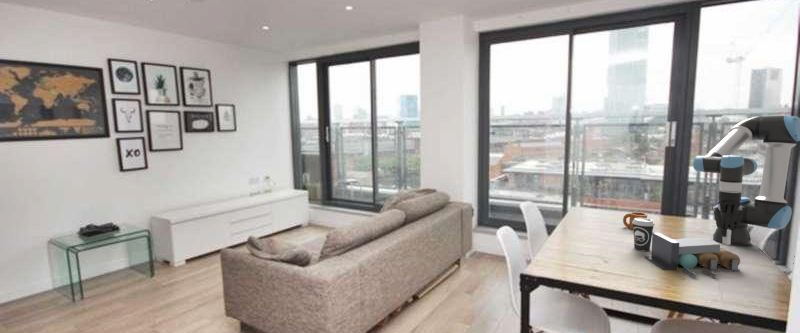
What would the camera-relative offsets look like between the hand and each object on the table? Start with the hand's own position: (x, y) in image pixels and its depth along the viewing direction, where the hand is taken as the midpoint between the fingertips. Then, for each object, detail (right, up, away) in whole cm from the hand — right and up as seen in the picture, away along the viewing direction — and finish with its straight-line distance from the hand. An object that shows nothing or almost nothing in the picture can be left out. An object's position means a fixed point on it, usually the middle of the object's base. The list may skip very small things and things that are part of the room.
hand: (726, 243), depth 174 cm
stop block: (-27, -9, +3) cm, 29 cm away
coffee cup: (-23, -7, +23) cm, 33 cm away
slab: (-15, -3, +1) cm, 15 cm away
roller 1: (-16, -9, +2) cm, 19 cm away
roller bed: (-12, -10, -2) cm, 15 cm away
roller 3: (-2, -9, +1) cm, 9 cm away
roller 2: (-10, -9, +2) cm, 14 cm away
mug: (-5, -3, +59) cm, 59 cm away
